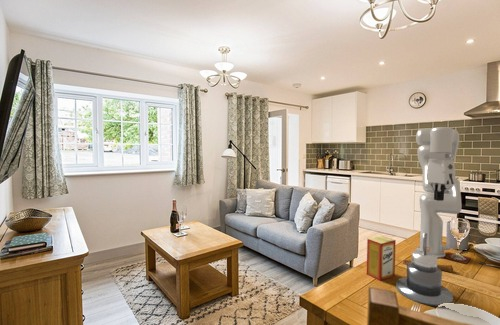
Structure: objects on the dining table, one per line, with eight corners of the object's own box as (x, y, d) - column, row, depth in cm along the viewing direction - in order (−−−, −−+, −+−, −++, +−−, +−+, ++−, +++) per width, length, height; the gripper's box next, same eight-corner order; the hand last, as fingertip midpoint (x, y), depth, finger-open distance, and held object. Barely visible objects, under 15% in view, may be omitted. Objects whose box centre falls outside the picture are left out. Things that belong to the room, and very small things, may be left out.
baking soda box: (379, 280, 109) (380, 242, 108) (366, 274, 114) (367, 238, 114) (394, 275, 113) (395, 239, 112) (380, 269, 119) (381, 234, 118)
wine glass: (457, 244, 151) (458, 218, 150) (473, 250, 141) (473, 223, 141) (441, 244, 151) (442, 219, 150) (455, 251, 141) (456, 223, 140)
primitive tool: (403, 265, 125) (403, 257, 124) (403, 260, 129) (403, 253, 129) (453, 275, 115) (454, 267, 115) (451, 270, 119) (452, 262, 119)
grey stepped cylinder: (426, 279, 110) (427, 257, 109) (466, 304, 92) (467, 278, 91) (386, 281, 108) (386, 259, 107) (418, 308, 90) (419, 280, 89)
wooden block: (436, 274, 94) (437, 238, 93) (410, 268, 99) (411, 234, 98) (438, 258, 107) (439, 227, 107) (415, 253, 112) (416, 223, 112)
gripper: (465, 157, 103) (463, 203, 104) (433, 156, 118) (431, 196, 119) (448, 157, 102) (446, 204, 103) (418, 156, 117) (417, 197, 117)
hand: (438, 200), depth 111 cm, fingers closed
